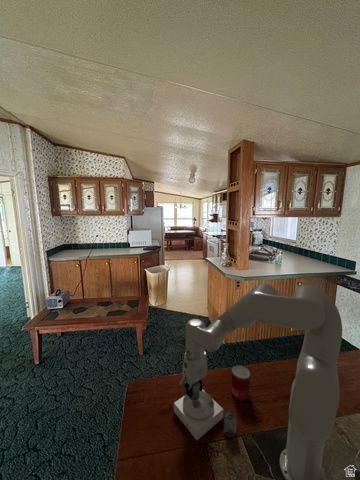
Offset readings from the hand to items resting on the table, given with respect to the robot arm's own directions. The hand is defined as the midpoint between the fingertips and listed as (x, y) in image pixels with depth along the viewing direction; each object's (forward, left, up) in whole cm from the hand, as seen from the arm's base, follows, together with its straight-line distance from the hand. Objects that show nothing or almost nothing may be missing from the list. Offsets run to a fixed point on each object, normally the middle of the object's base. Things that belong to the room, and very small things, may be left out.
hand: (194, 391), depth 86 cm
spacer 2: (-15, -5, -8) cm, 18 cm away
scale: (-3, 0, -8) cm, 9 cm away
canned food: (-7, -22, -8) cm, 25 cm away
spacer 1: (0, 0, -2) cm, 2 cm away
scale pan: (-3, 0, -4) cm, 5 cm away
